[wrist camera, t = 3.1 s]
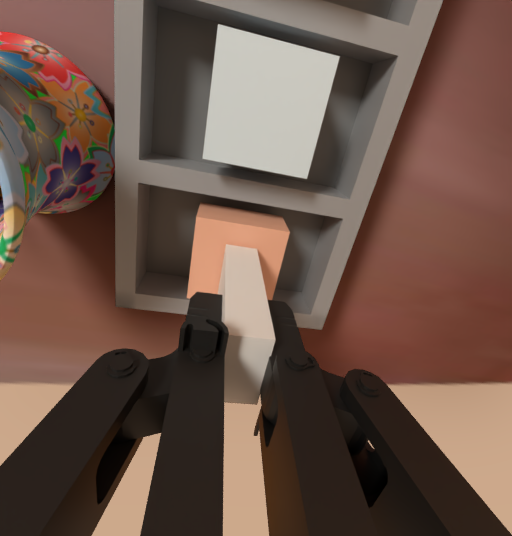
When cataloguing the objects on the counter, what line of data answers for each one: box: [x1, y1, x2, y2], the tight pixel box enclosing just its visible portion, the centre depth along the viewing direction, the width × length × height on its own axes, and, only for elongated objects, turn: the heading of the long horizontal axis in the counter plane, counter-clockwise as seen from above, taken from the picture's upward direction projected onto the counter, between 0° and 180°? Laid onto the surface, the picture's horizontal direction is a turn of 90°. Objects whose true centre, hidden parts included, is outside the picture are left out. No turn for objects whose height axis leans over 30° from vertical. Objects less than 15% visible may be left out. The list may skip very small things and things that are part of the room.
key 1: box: [187, 202, 290, 300], centre depth 16 cm, size 4×4×2 cm
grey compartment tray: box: [114, 0, 443, 330], centre depth 15 cm, size 22×12×4 cm, turn 169°
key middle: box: [202, 24, 340, 179], centre depth 13 cm, size 4×4×2 cm
